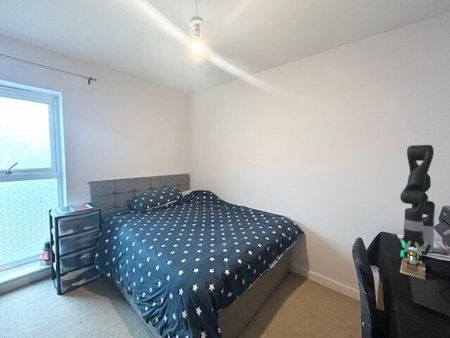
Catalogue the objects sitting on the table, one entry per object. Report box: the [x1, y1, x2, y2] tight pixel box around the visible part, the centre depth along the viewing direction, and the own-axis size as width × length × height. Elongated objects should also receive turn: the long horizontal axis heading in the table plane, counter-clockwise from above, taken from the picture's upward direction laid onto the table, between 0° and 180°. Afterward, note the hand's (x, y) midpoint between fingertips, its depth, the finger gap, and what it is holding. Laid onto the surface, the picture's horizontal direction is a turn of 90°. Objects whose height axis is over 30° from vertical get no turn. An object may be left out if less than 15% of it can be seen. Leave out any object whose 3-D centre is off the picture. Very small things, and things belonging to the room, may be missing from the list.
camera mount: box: [400, 240, 419, 258], centre depth 125 cm, size 12×8×10 cm, turn 129°
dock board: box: [399, 255, 426, 280], centre depth 111 cm, size 18×10×5 cm, turn 135°
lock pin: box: [409, 250, 417, 266], centre depth 108 cm, size 3×3×10 cm
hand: (412, 259), depth 108 cm, fingers open, 4 cm apart
